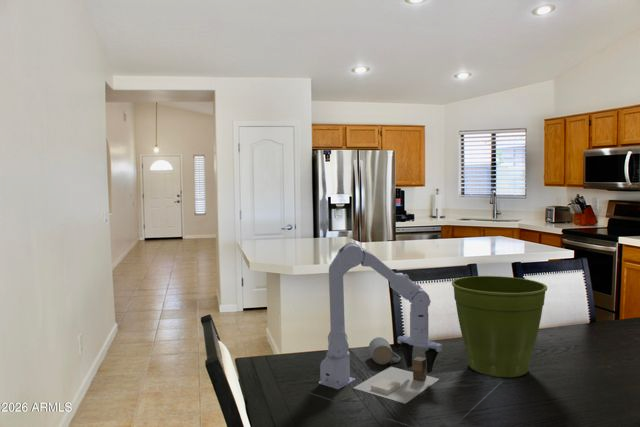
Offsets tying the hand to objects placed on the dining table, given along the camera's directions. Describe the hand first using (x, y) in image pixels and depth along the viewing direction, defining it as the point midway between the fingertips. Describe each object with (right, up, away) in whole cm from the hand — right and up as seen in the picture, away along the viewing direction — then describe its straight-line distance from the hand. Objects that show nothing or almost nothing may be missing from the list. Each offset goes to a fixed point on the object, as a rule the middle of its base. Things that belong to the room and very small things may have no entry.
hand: (419, 369), depth 157 cm
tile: (-9, -3, -3) cm, 10 cm away
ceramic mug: (-9, -3, +18) cm, 20 cm away
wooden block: (0, -3, 0) cm, 3 cm away
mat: (-7, -4, -3) cm, 9 cm away
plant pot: (+28, -3, +10) cm, 30 cm away
